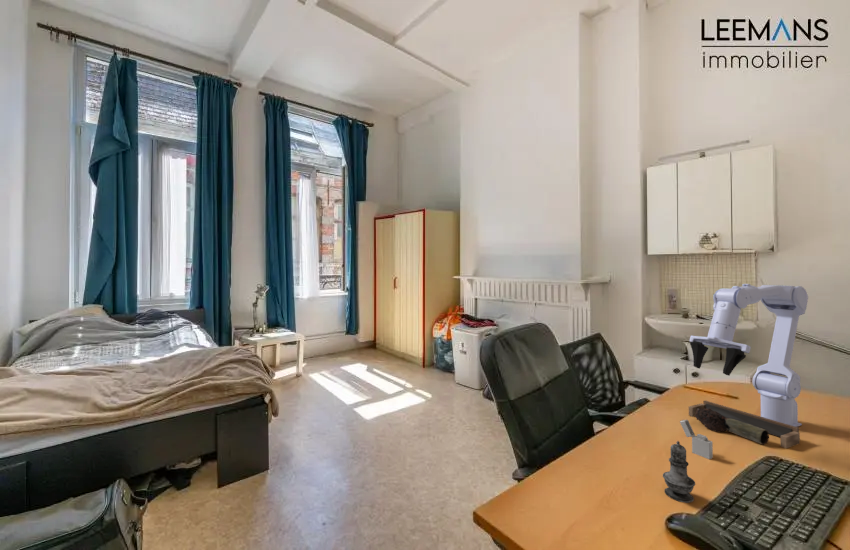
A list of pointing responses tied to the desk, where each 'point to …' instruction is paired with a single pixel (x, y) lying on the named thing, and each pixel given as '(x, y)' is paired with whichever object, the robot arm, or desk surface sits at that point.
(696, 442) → the lighter
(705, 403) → the bearing cradle
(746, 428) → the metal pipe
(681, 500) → the salt shaker
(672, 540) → the desk surface
